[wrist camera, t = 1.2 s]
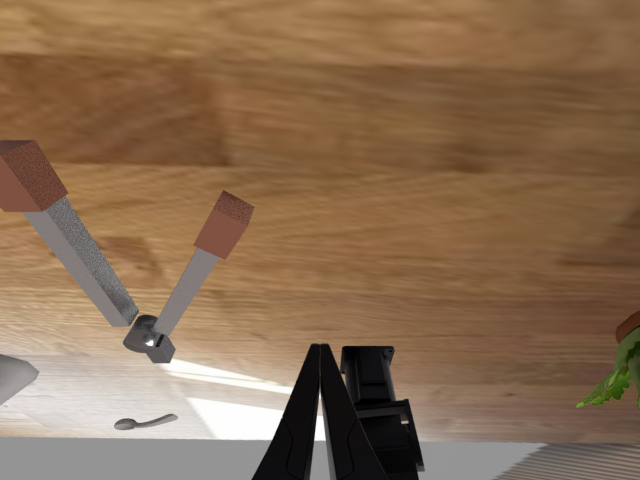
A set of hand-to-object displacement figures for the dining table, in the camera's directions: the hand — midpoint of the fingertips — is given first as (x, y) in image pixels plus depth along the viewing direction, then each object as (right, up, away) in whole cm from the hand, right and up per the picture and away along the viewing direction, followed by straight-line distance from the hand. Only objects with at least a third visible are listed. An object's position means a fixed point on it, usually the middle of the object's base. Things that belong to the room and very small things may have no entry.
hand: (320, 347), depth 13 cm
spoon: (-31, -27, +37) cm, 55 cm away
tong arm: (-13, +1, +14) cm, 19 cm away
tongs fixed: (-20, +1, +14) cm, 24 cm away
